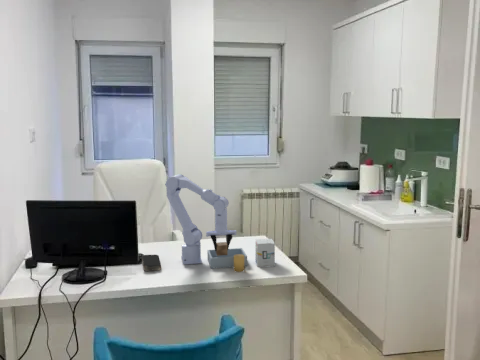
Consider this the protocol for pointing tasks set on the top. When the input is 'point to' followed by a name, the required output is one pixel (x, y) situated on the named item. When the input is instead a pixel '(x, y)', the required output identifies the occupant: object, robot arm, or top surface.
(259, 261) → the ink box
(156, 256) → the black sponge
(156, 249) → the top surface
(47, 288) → the top surface
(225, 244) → the walnut cube
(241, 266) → the tan rounded piece
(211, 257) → the tote
